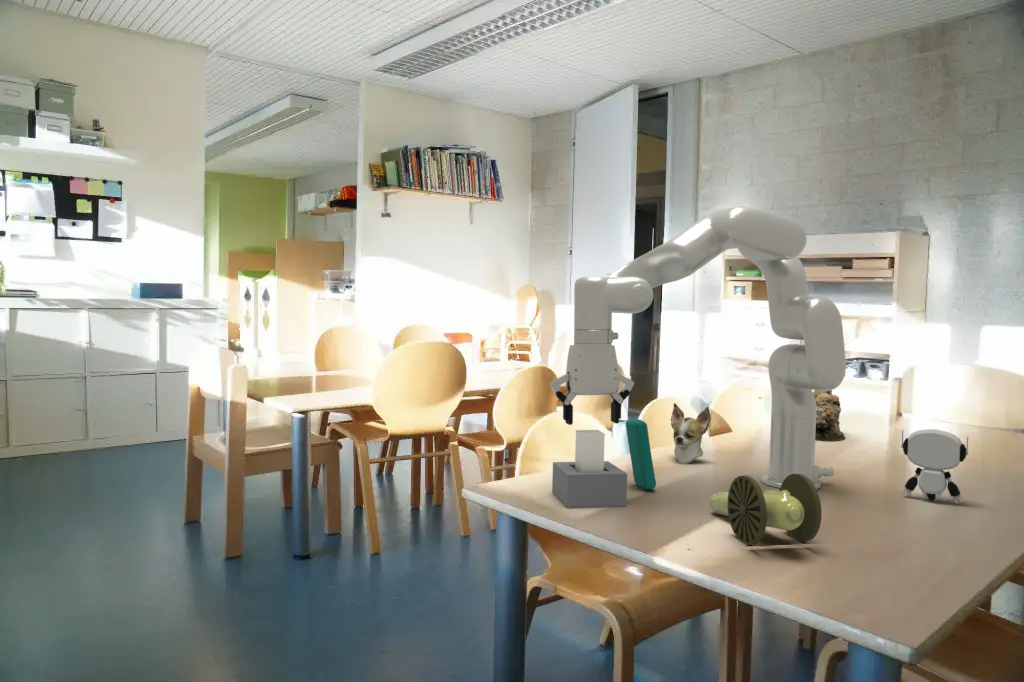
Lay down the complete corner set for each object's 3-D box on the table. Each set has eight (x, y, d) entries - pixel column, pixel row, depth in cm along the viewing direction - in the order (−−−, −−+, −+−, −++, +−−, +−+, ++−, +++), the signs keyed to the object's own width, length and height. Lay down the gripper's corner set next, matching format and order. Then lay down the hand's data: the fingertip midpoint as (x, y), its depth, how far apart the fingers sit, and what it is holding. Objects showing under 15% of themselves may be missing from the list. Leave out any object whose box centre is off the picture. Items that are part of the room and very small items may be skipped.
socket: (607, 491, 160) (607, 461, 160) (626, 506, 148) (627, 473, 148) (552, 492, 158) (552, 462, 157) (567, 508, 146) (567, 474, 146)
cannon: (689, 514, 144) (691, 455, 144) (745, 511, 147) (747, 453, 147) (762, 556, 120) (765, 485, 120) (827, 552, 123) (830, 483, 122)
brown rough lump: (841, 448, 218) (843, 389, 217) (798, 443, 225) (800, 386, 224) (851, 440, 233) (853, 385, 233) (811, 435, 240) (813, 382, 239)
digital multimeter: (646, 492, 159) (659, 489, 160) (635, 422, 159) (648, 420, 160) (634, 486, 167) (646, 483, 167) (623, 420, 166) (636, 417, 167)
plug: (596, 478, 155) (597, 429, 155) (603, 483, 151) (604, 433, 151) (574, 478, 155) (576, 430, 154) (581, 483, 150) (582, 433, 150)
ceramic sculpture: (658, 463, 190) (660, 404, 190) (675, 459, 197) (677, 401, 196) (697, 470, 183) (699, 409, 183) (713, 465, 190) (715, 406, 189)
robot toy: (966, 502, 157) (970, 431, 157) (964, 507, 154) (968, 434, 153) (901, 493, 164) (904, 424, 164) (897, 497, 161) (901, 427, 160)
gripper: (627, 337, 157) (626, 419, 158) (546, 338, 154) (546, 421, 154) (640, 339, 150) (639, 424, 150) (555, 339, 146) (555, 427, 147)
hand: (592, 423), depth 152 cm, fingers open, 9 cm apart
